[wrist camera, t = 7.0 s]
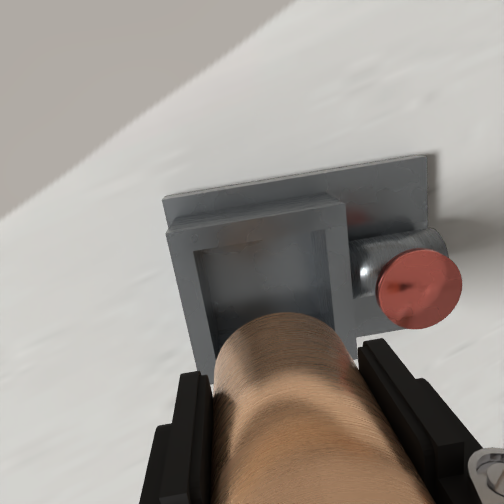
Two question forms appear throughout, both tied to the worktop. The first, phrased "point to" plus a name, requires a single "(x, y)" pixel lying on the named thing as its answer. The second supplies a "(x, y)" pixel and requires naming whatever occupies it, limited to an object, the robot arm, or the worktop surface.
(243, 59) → the worktop surface
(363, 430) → the pipe stub
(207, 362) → the block
